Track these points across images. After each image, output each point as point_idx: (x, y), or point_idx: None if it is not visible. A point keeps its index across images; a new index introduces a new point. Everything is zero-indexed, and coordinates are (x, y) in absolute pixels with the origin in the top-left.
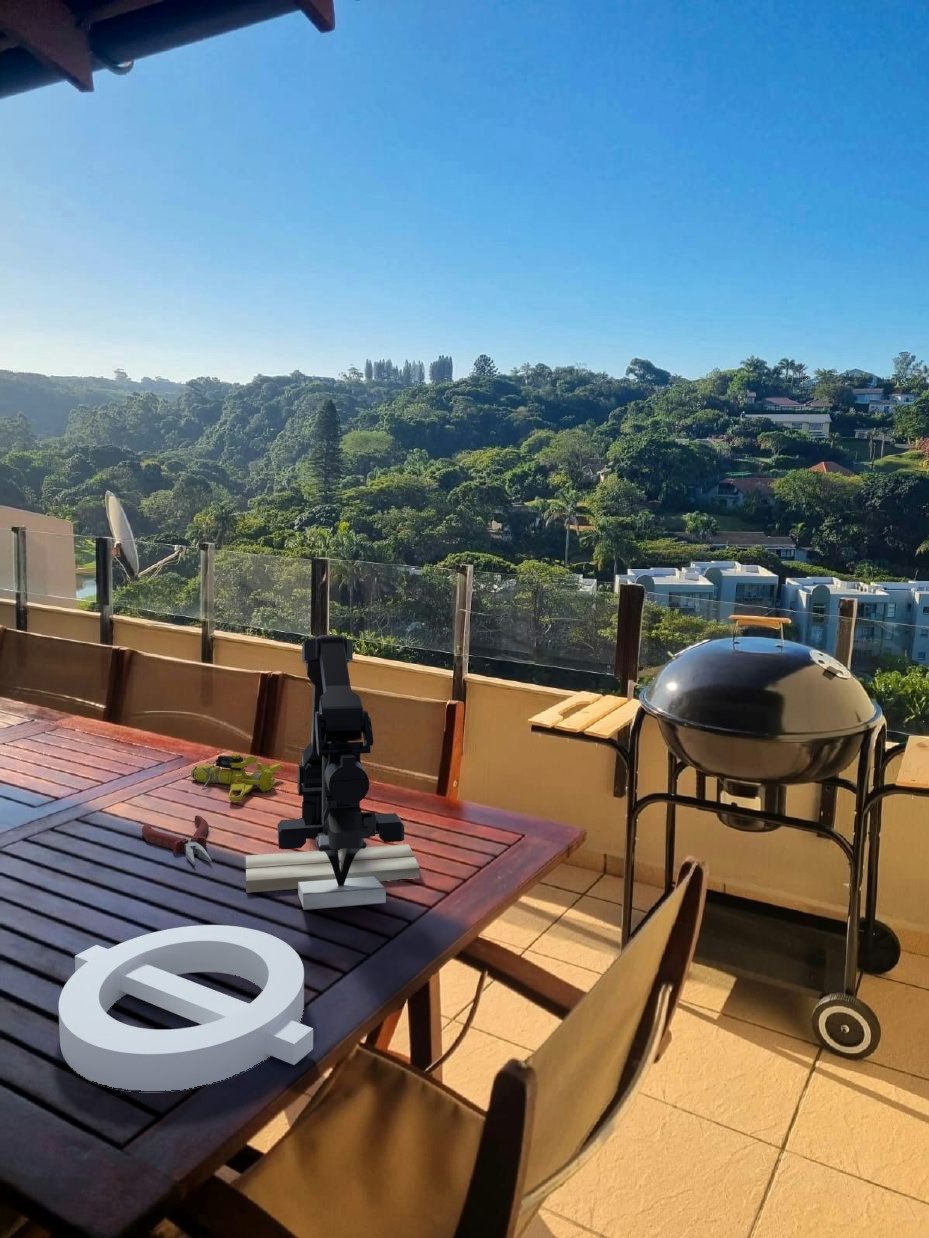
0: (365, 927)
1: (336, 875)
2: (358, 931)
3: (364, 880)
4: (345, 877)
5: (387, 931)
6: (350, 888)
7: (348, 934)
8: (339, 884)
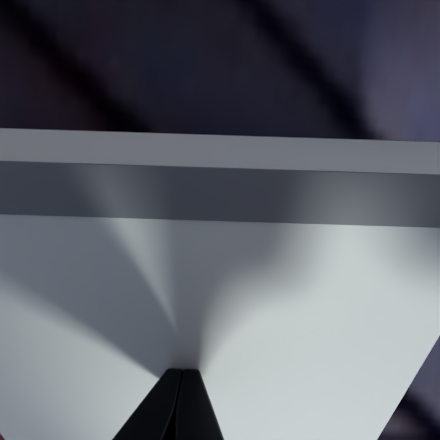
0: (109, 127)
1: (208, 425)
2: (142, 96)
3: (59, 431)
4: (144, 405)
5: (12, 65)
6: (126, 280)
7: (189, 77)
8: (191, 372)
